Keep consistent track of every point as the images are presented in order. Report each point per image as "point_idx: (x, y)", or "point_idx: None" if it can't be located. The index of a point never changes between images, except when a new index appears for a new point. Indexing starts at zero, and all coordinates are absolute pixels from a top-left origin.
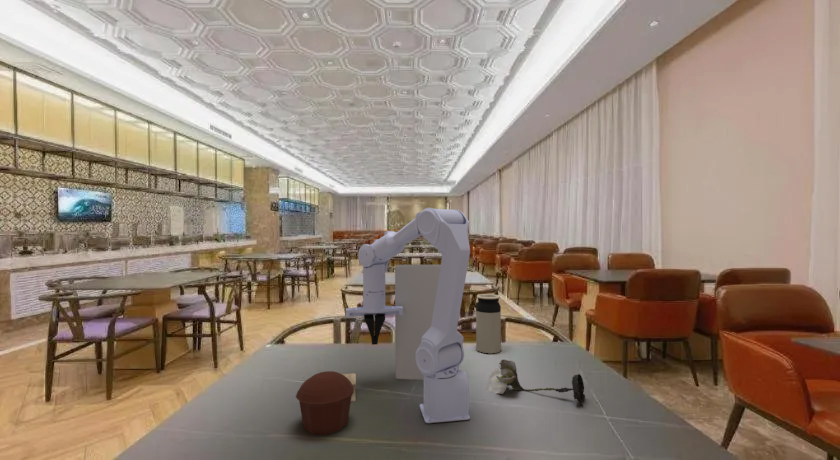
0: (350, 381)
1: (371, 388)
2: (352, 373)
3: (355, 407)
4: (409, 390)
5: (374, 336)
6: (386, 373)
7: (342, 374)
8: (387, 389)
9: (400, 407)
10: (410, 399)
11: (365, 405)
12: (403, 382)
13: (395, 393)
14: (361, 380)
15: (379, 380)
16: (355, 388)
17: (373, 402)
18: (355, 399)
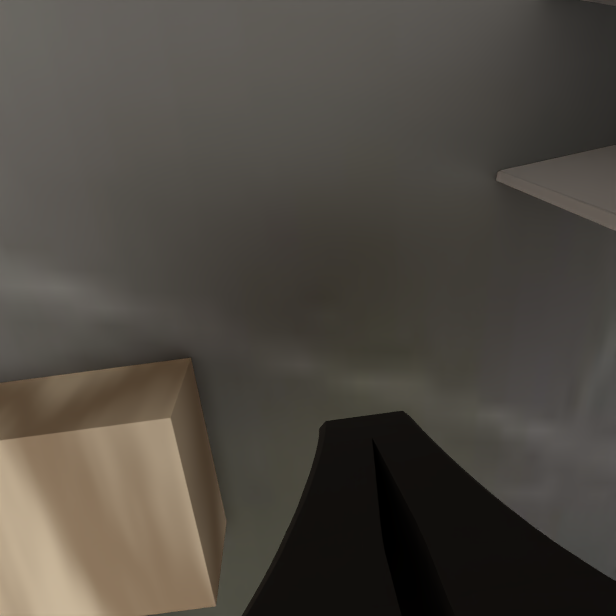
0: (166, 566)
1: (306, 354)
2: (142, 423)
3: (239, 586)
4: (570, 393)
5: (380, 459)
6: (420, 35)
7: (58, 440)
8: (421, 374)
9: None
10: (554, 509)
11: None
12: (549, 257)
13: (472, 433)
14: (205, 199)
15: (359, 207)
16: (217, 581)
17: None
18: (224, 530)
